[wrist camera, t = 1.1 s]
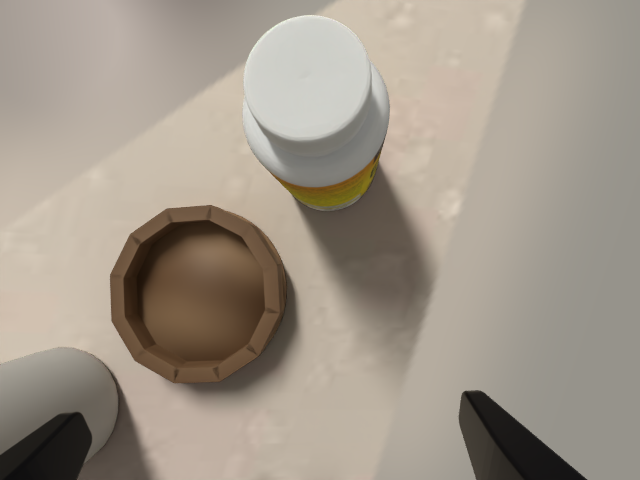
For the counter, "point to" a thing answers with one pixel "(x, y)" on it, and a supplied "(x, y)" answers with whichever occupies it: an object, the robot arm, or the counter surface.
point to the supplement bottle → (315, 110)
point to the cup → (56, 394)
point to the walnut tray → (197, 293)
